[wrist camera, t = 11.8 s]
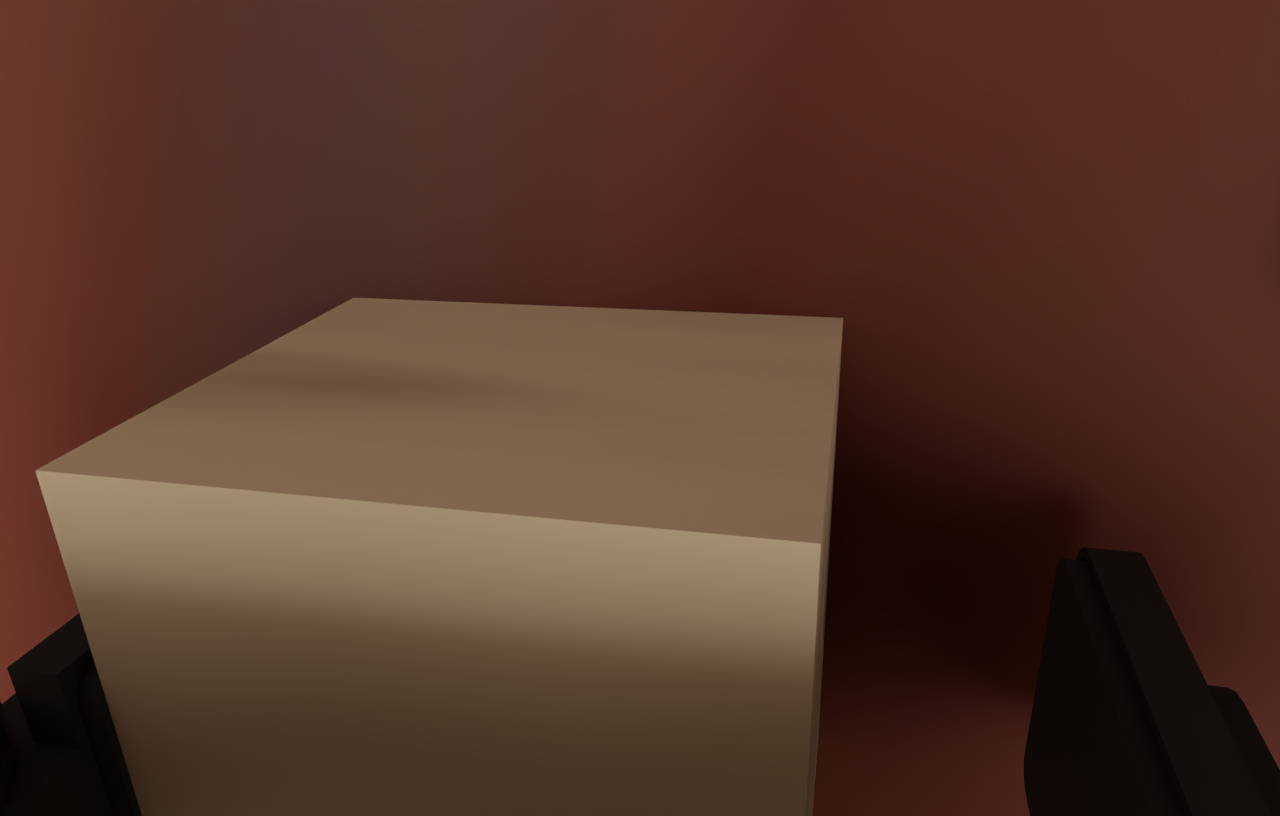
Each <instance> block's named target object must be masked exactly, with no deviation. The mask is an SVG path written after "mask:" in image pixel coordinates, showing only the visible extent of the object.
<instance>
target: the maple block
mask: <svg viewBox="0 0 1280 816" xmlns="http://www.w3.org/2000/svg"><path fill="white" fill-rule="evenodd" d="M842 331H843V318H833V317H809V316H785V315H761V314H737V313H712V312H688V311H664V310H640V309H616V308H592V307H567V306H543V305H519V304H495V303H471V302H446V301H422V300H398V299H374V298H352V299H350V300H348V301H346V302H344V303H343V304H341V305H339V306H337V307H335V308H333V309H332V310H330V311H328V312H326V313H324V314H322V315H320V316H319V317H317V318H315V319H313V320H311V321H309V322H308V323H306V324H304V325H302V326H300V327H298V328H297V329H295V330H293V331H291V332H289V333H287V334H286V335H284V336H282V337H280V338H278V339H276V340H274V341H273V342H271V343H269V344H267V345H265V346H263V347H262V348H260V349H258V350H256V351H254V352H252V353H251V354H249V355H247V356H245V357H243V358H241V359H239V360H238V361H236V362H234V363H232V364H230V365H228V366H227V367H225V368H223V369H221V370H219V371H217V372H216V373H214V374H212V375H210V376H208V377H206V378H204V379H203V380H201V381H199V382H197V383H195V384H193V385H192V386H190V387H188V388H186V389H184V390H182V391H181V392H179V393H177V394H175V395H173V396H171V397H169V398H168V399H166V400H164V401H162V402H160V403H158V404H157V405H155V406H153V407H151V408H149V409H147V410H146V411H144V412H142V413H140V414H138V415H136V416H134V417H133V418H131V419H129V420H127V421H125V422H123V423H122V424H120V425H118V426H116V427H114V428H112V429H111V430H109V431H107V432H105V433H103V434H101V435H100V436H98V437H96V438H94V439H92V440H90V441H88V442H87V443H85V444H83V445H81V446H79V447H77V448H76V449H74V450H72V451H70V452H68V453H66V454H65V455H63V456H61V457H59V458H57V459H55V460H53V461H52V462H50V463H48V464H46V465H44V466H42V467H41V468H39V469H37V470H35V471H36V475H37V478H38V481H39V484H40V488H41V491H42V494H43V497H44V500H45V504H46V507H47V510H48V513H49V517H50V520H51V523H52V526H53V530H54V533H55V536H56V539H57V542H58V546H59V549H60V552H61V555H62V559H63V562H64V565H65V568H66V572H67V575H68V578H69V581H70V584H71V588H72V591H73V594H74V597H75V601H76V604H77V607H78V610H79V614H80V617H81V620H82V623H83V626H84V630H85V633H86V636H87V639H88V643H89V646H90V649H91V652H92V656H93V659H94V662H95V665H96V668H97V672H98V675H99V678H100V681H101V685H102V688H103V691H104V694H105V697H106V701H107V704H108V707H109V710H110V714H111V717H112V720H113V723H114V727H115V730H116V733H117V736H118V739H119V743H120V746H121V749H122V752H123V756H124V759H125V762H126V765H127V769H128V772H129V775H130V778H131V781H132V785H133V788H134V791H135V794H136V798H137V801H138V804H139V807H140V811H141V814H142V816H812V812H813V799H814V786H815V773H816V760H817V747H818V731H819V715H820V698H821V681H822V665H823V648H824V631H825V615H826V598H827V581H828V565H829V548H830V531H831V514H832V498H833V481H834V464H835V448H836V431H837V414H838V398H839V381H840V364H841V348H842Z"/></svg>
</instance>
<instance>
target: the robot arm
mask: <svg viewBox="0 0 1280 816" xmlns="http://www.w3.org/2000/svg"><path fill="white" fill-rule="evenodd" d="M7 669H8V671H9V674H10V677H11V680H12V683H13V685H14V688H15V691H16V694H14V695H13V696H12V697H11V698H9V699H8V700H7V701H5V702H4V703H3V704H1V702H0V816H142V814H141V811H140V807H139V804H138V801H137V798H136V794H135V791H134V788H133V785H132V781H131V778H130V775H129V772H128V769H127V765H126V762H125V759H124V756H123V752H122V749H121V746H120V743H119V739H118V736H117V733H116V730H115V727H114V723H113V720H112V717H111V714H110V710H109V707H108V704H107V701H106V697H105V694H104V691H103V688H102V685H101V681H100V678H99V675H98V672H97V668H96V665H95V662H94V659H93V656H92V652H91V649H90V646H89V643H88V639H87V636H86V633H85V630H84V626H83V623H82V620H81V617H80V614H78V615H77V616H75V617H74V618H73V619H71V620H70V621H69V622H67V623H66V624H65V625H63V626H62V627H61V628H59V629H58V630H57V631H55V632H54V633H53V634H51V635H50V636H49V637H47V638H46V639H45V640H43V641H42V642H41V643H39V644H38V645H37V646H35V647H34V648H33V649H31V650H30V651H29V652H27V653H26V654H25V655H23V656H22V657H21V658H19V659H18V660H17V661H16V662H14V663H13V664H12V665H10V666H9V667H8V668H7ZM1024 784H1025V791H1026V796H1027V802H1028V807H1029V812H1030V816H1280V770H1279V768H1278V766H1277V764H1276V762H1275V760H1274V759H1273V757H1272V755H1271V753H1270V751H1269V749H1268V747H1267V745H1266V744H1265V742H1264V740H1263V738H1262V736H1261V734H1260V732H1259V730H1258V729H1257V727H1256V725H1255V723H1254V721H1253V719H1252V717H1251V715H1250V714H1249V712H1248V710H1247V708H1246V706H1245V704H1244V703H1243V701H1242V700H1241V698H1240V697H1239V696H1238V694H1237V693H1236V692H1235V691H1233V690H1231V689H1229V688H1226V687H1218V686H1209V685H1207V683H1206V681H1205V679H1204V677H1203V675H1202V673H1201V671H1200V669H1199V667H1198V665H1197V663H1196V661H1195V659H1194V657H1193V655H1192V653H1191V651H1190V649H1189V647H1188V645H1187V643H1186V641H1185V639H1184V637H1183V635H1182V633H1181V631H1180V629H1179V626H1178V624H1177V622H1176V620H1175V618H1174V616H1173V614H1172V612H1171V610H1170V608H1169V606H1168V604H1167V602H1166V600H1165V598H1164V596H1163V594H1162V592H1161V590H1160V588H1159V586H1158V584H1157V582H1156V580H1155V578H1154V576H1153V574H1152V572H1151V570H1150V568H1149V566H1148V564H1147V562H1146V560H1145V558H1144V556H1143V555H1142V554H1141V553H1138V552H1127V551H1116V550H1105V549H1094V548H1082V549H1081V550H1080V551H1079V554H1078V556H1077V559H1076V560H1067V559H1061V560H1060V561H1059V563H1058V566H1057V570H1056V575H1055V581H1054V587H1053V592H1052V598H1051V604H1050V610H1049V616H1048V622H1047V627H1046V633H1045V639H1044V645H1043V651H1042V657H1041V662H1040V668H1039V674H1038V680H1037V686H1036V691H1035V697H1034V703H1033V709H1032V715H1031V721H1030V726H1029V732H1028V738H1027V744H1026V750H1025V757H1024Z"/></svg>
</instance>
